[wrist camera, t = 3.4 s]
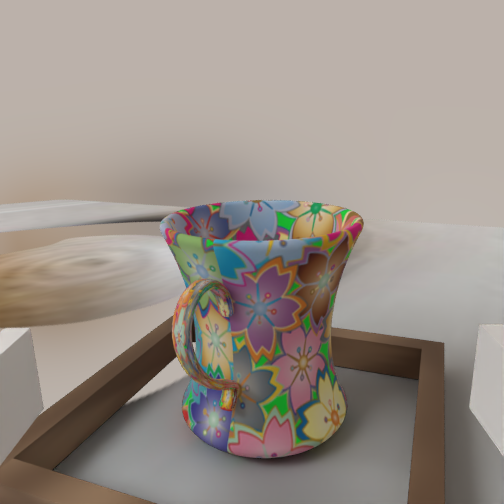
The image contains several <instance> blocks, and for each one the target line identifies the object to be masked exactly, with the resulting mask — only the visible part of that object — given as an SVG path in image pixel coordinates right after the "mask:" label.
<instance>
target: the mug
mask: <svg viewBox="0 0 504 504" xmlns="http://www.w3.org/2000/svg"><path fill="white" fill-rule="evenodd" d="M363 224H364V223H363V219H362V217H361V216H360V215H358V214H357V213H356V212H353V211H351V210H349V209H346V208H342V207H338V206H334V205H329V204H321V203H313V202H303V201H285V200H255V201H235V202H224V203H215V204H209V205H202V206H197V207H192V208H187V209H184V210H180V211H177V212H174V213H172V214H170V215H168V216H166V217H165V218H164V219H163V220H162V221H161V224H160V231H161V233H162V235H163V237H164V239H165V240H166V242H167V244H168V246H169V248H170V250H171V252H172V254H173V256H174V258H175V260H176V262H177V264H178V267H179V269H180V271H181V274H182V277H183V279H184V282H185V285H186V290H185V291H184V292H183V294H182V295H181V297H180V299H179V301H178V303H177V306H176V309H175V312H174V316H173V322H172V339H173V345H174V349H175V352H176V355H177V358H178V360H179V362H180V364H181V366H182V367H183V369H184V370H185V371H186V373H187V374H188V375H189V376H190V377H191V380H190V383H189V385H188V387H187V389H186V391H185V393H184V397H183V401H182V411H183V415H184V418H185V421H186V423H187V425H188V426H189V428H190V429H191V430H192V431H193V432H194V434H196V435H197V436H198V437H199V438H200V439H201V440H203V441H204V442H206V443H207V444H209V445H211V446H212V447H214V448H217V449H219V450H221V451H224V452H227V453H230V454H234V455H239V456H244V457H253V458H276V457H284V456H290V455H294V454H298V453H301V452H304V451H307V450H310V449H312V448H314V447H316V446H318V445H320V444H322V443H323V442H325V441H326V440H327V439H329V438H330V437H331V436H332V435H333V434H334V433H335V432H336V431H337V430H338V429H339V427H340V426H341V425H342V423H343V421H344V418H345V415H346V411H347V400H346V395H345V393H344V390H343V388H342V386H341V385H340V383H339V380H338V378H337V375H336V372H335V368H334V364H333V358H332V349H331V323H332V315H333V308H334V303H335V298H336V293H337V290H338V286H339V282H340V279H341V276H342V273H343V270H344V268H345V265H346V263H347V260H348V258H349V255H350V253H351V251H352V249H353V247H354V245H355V243H356V240H357V239H358V237H359V235H360V233H361V231H362V229H363ZM193 317H194V324H195V334H196V353H195V352H194V349H193V344H192V336H191V329H192V321H193Z"/></svg>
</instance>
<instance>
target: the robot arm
mask: <svg viewBox="0 0 504 504" xmlns="http://www.w3.org/2000/svg"><path fill="white" fill-rule="evenodd" d="M469 408H470V410H471V411H472V412H473V414H474V415H475V417H476V418H477V420H478V421H479V422H480V424H481V425H482V427H483V428H484V430H485V431H486V432H487V434H488V435H489V437H490V438H491V440H492V441H493V442H494V444H495V445H496V447H497V448H498V450H499V451H500V452H501V454H502V455H503V457H504V324H479V331H478V339H477V347H476V355H475V364H474V372H473V380H472V388H471V397H470V405H469ZM42 410H43V402H42V396H41V389H40V383H39V377H38V371H37V366H36V359H35V354H34V347H33V341H32V336H31V329H30V328H4V329H3V330H2V331H1V332H0V465H1V464H2V463H3V461H4V460H5V459H6V457H7V456H8V455H9V453H10V452H11V451H12V450H13V448H14V447H15V446H16V444H17V443H18V442H19V440H20V439H21V438H22V436H23V435H24V434H25V432H26V431H27V430H28V429H29V427H30V426H31V425H32V423H33V422H34V421H35V419H36V418H37V417H38V415H39V414H40V413H41V411H42Z"/></svg>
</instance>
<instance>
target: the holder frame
mask: <svg viewBox="0 0 504 504" xmlns="http://www.w3.org/2000/svg"><path fill="white" fill-rule="evenodd" d="M173 316H174V315H173ZM173 316H172V317H170V318H169V319H168V320H166V321H165V322H163V323H162V324H161V325H160V326H158V327H157V328H155V329H154V330H153V331H151V332H150V333H149V334H147V335H146V336H145V337H143V338H142V339H141V340H140V341H138V342H137V343H135V344H134V345H133V346H132V347H130V348H129V349H128V350H126V351H125V352H123V353H122V354H121V355H119V356H118V357H117V358H115V359H114V360H113V361H111V362H110V363H109V364H107V365H106V366H105V367H103V368H102V369H101V370H99V371H98V372H97V373H95V374H94V375H93V376H92V377H90V378H89V379H87V380H86V381H85V382H83V383H82V384H81V385H79V386H78V387H77V388H75V389H74V390H73V391H71V392H70V393H69V394H67V395H66V396H65V397H63V398H62V399H60V400H59V401H58V402H56V403H55V404H54V405H52V406H51V407H50V408H48V409H47V410H46V411H44V412H43V413H42V414H40V415H39V416H38V417H37V418H36V419H35V421H34V422H33V423H32V425H31V426H30V427H29V429H28V430H27V431H26V432H25V434H24V435H23V436H22V438H21V439H20V440H19V442H18V443H17V444H16V446H15V447H14V448H13V450H12V451H11V452H10V453H9V455H8V456H7V457H6V459H5V460H4V461H3V463H2V464H1V465H0V504H156V503H153V502H150V501H147V500H144V499H141V498H137V497H134V496H131V495H128V494H125V493H122V492H118V491H115V490H112V489H109V488H106V487H102V486H99V485H96V484H93V483H90V482H87V481H83V480H80V479H77V478H74V477H71V476H68V475H64V474H61V473H58V472H55V471H52V470H53V469H54V468H55V467H56V466H57V465H58V464H59V463H60V462H61V461H63V460H64V459H65V458H66V457H67V456H68V455H69V454H70V453H71V452H72V451H74V450H75V449H76V448H77V447H78V446H79V445H80V444H81V443H82V442H83V441H85V440H86V439H87V438H88V437H89V436H90V435H91V434H92V433H93V432H94V431H95V430H97V429H98V428H99V427H100V426H101V425H102V424H103V423H104V422H105V421H106V420H108V419H109V418H110V417H111V416H112V415H113V414H114V413H115V412H116V411H117V410H119V409H120V408H121V407H122V406H123V405H124V404H125V403H126V402H127V401H128V400H129V399H131V398H132V397H133V396H134V395H135V394H136V393H137V392H138V391H139V390H140V389H141V388H143V387H144V386H145V385H146V384H147V383H148V382H149V381H150V380H151V379H152V378H153V377H155V376H156V375H157V374H158V373H159V372H160V371H161V370H162V369H163V368H165V367H166V365H168V364H169V363H170V362H171V361H172V360H173V359H174V358H176V357H177V355H176V352H175V349H174V345H173V339H172V322H173ZM191 336H192V342H196V334H195V324H194V317H193V321H192V329H191ZM331 349H332V358H333V364H334V366H340V367H346V368H352V369H358V370H364V371H370V372H376V373H382V374H388V375H394V376H400V377H406V378H412V379H418V380H419V384H418V395H417V406H416V417H415V427H414V438H413V449H412V460H411V471H410V482H409V492H408V503H407V504H445V458H444V343H441V342H434V341H427V340H420V339H412V338H405V337H398V336H391V335H383V334H376V333H369V332H362V331H355V330H347V329H340V328H333V327H331Z"/></svg>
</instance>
